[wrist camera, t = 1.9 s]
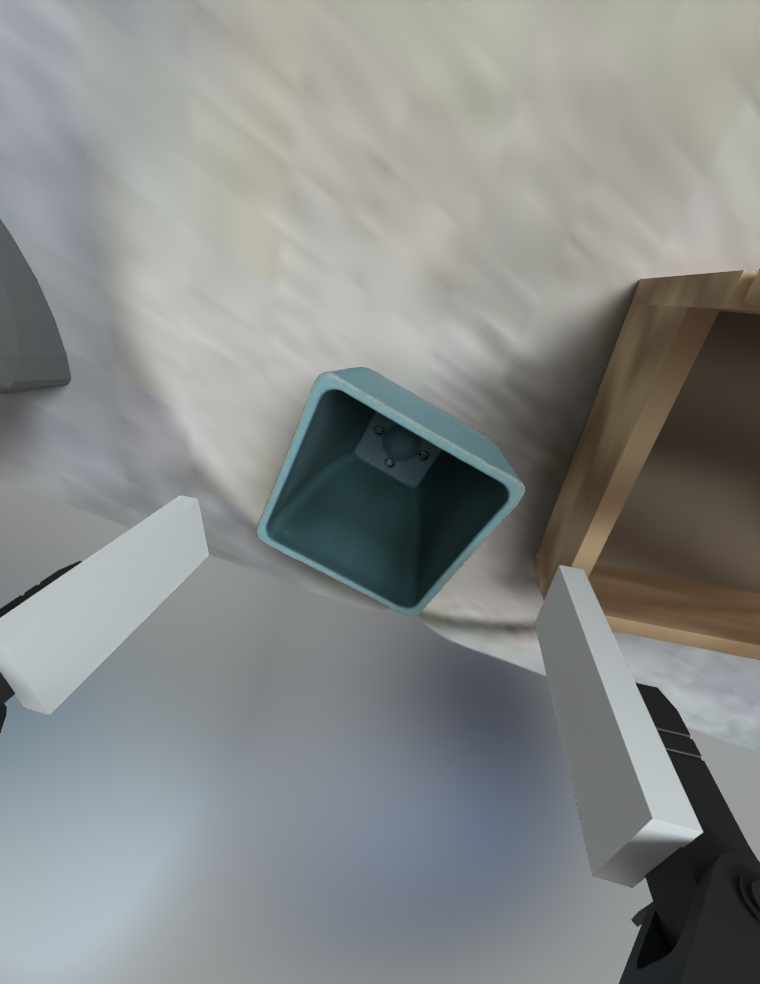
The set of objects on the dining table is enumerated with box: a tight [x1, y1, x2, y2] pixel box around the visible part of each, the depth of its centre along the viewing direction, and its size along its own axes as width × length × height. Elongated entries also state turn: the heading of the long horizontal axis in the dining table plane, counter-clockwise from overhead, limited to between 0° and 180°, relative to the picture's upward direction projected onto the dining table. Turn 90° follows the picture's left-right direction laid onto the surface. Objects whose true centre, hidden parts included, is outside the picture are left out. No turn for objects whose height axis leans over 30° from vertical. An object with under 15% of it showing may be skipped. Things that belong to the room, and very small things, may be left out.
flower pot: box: [256, 367, 526, 617], centre depth 19 cm, size 9×9×9 cm
